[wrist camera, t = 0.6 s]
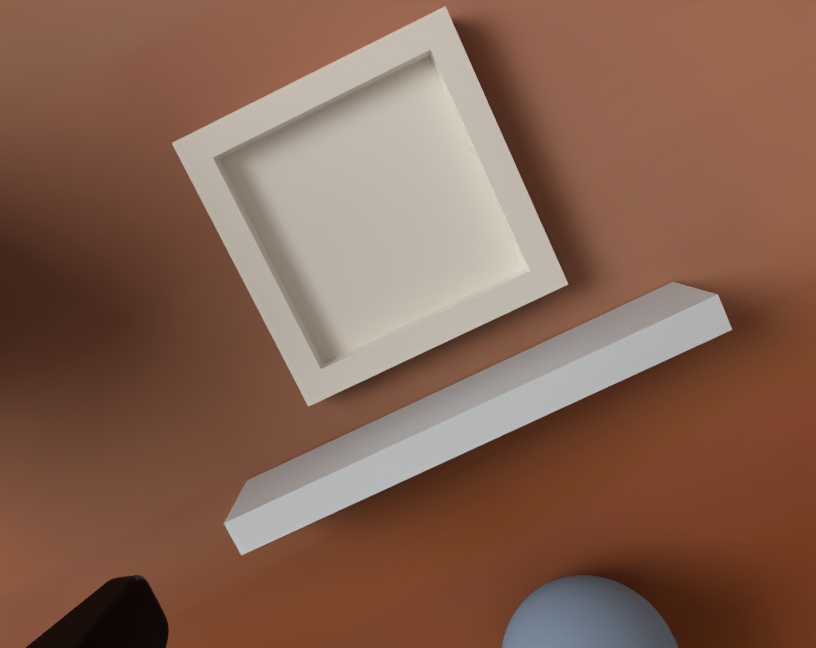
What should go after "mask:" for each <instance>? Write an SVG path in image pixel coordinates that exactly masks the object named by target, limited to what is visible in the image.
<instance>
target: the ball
mask: <svg viewBox="0 0 816 648" xmlns="http://www.w3.org/2000/svg"><path fill="white" fill-rule="evenodd" d="M502 648H678V646H677V643H676V640H675V638H674V636H673V635H672V633H671V631H670V629H669V627H668V625H667V623H666V622H665V621H664V620H663V618H662V617H661V616H660V614H659V613H658V612H657V610H656V609H655V608H654V607H653V606H652V605H651V604H650V603H649V602H648V601H647V600H645V599H644V598H643V597H642V596H641V595H639V594H638V593H637V592H635V591H634V590H632V589H630V588H628V587H627V586H625V585H623V584H621V583H619V582H616V581H614V580H611V579H607V578H604V577H599V576H591V575H573V576H566V577H562V578H558V579H556V580H553V581H550V582H548V583H546V584H545V585H543V586H541V587H539V588H538V589H536V590H535V591H534V592H532V593H531V594H530V595H529V596H528V597H527V598H526V599H525V600H524V601H523V602H522V603H521V605H520V606H519V607H518V609H517V610H516V612H515V613H514V615H513V616H512V618H511V620H510V622H509V624H508V627H507V630H506V633H505V636H504V639H503V644H502Z"/></svg>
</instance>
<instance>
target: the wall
mask: <svg viewBox="0 0 816 648" xmlns="http://www.w3.org/2000/svg"><path fill="white" fill-rule="evenodd" d="M731 330H732V328H731V325H730V323H729V320H728V318H727V315H726V313H725V311H724V308H723V306H722V303H721V301H720V298H719V296H718V294H715V293H711V292H708V291H704V290H700V289H697V288H693V287H690V286H686V285H683V284H679V283H676V282H671V283H669V284H667V285H665V286H663V287H661V288H659V289H656V290H654V291H652V292H650V293H648V294H646V295H644V296H641V297H639V298H637V299H635V300H633V301H631V302H629V303H626V304H624V305H622V306H620V307H618V308H616V309H614V310H611V311H609V312H607V313H605V314H603V315H601V316H599V317H596V318H594V319H592V320H590V321H588V322H586V323H584V324H581V325H579V326H577V327H575V328H573V329H571V330H568V331H566V332H564V333H562V334H560V335H558V336H556V337H553V338H551V339H549V340H547V341H545V342H543V343H541V344H538V345H536V346H534V347H532V348H530V349H528V350H526V351H523V352H521V353H519V354H517V355H515V356H513V357H511V358H508V359H506V360H504V361H502V362H500V363H498V364H496V365H493V366H491V367H489V368H487V369H485V370H483V371H481V372H478V373H476V374H474V375H472V376H470V377H468V378H466V379H463V380H461V381H459V382H457V383H455V384H453V385H451V386H448V387H446V388H444V389H442V390H440V391H438V392H435V393H433V394H431V395H429V396H427V397H425V398H423V399H420V400H418V401H416V402H414V403H412V404H410V405H408V406H405V407H403V408H401V409H399V410H397V411H395V412H393V413H390V414H388V415H386V416H384V417H382V418H380V419H378V420H375V421H373V422H371V423H369V424H367V425H365V426H363V427H360V428H358V429H356V430H354V431H352V432H350V433H348V434H345V435H343V436H341V437H339V438H337V439H335V440H333V441H330V442H328V443H326V444H324V445H322V446H320V447H318V448H315V449H313V450H311V451H309V452H307V453H305V454H302V455H300V456H298V457H296V458H294V459H292V460H290V461H287V462H285V463H283V464H281V465H279V466H277V467H275V468H272V469H270V470H268V471H266V472H264V473H262V474H260V475H257V476H255V477H253V478H251V479H249V480H247V482H246V483H245V485H244V487H243V489H242V491H241V493H240V494H239V496H238V498H237V500H236V502H235V504H234V505H233V507H232V509H231V511H230V513H229V515H228V516H227V518H226V520H225V522H224V525H225V527H226V528H227V530H228V532H229V534H230V536H231V537H232V539H233V541H234V543H235V545H236V546H237V548H238V550H239V552H240V554H241V555H243V554H246V553H248V552H250V551H252V550H254V549H256V548H259V547H261V546H263V545H265V544H267V543H269V542H272V541H274V540H276V539H278V538H280V537H283V536H285V535H287V534H289V533H291V532H293V531H296V530H298V529H300V528H302V527H304V526H306V525H309V524H311V523H313V522H315V521H317V520H319V519H322V518H324V517H326V516H328V515H330V514H333V513H335V512H337V511H339V510H341V509H343V508H346V507H348V506H350V505H352V504H354V503H356V502H359V501H361V500H363V499H365V498H367V497H370V496H372V495H374V494H376V493H378V492H380V491H383V490H385V489H387V488H389V487H391V486H393V485H396V484H398V483H400V482H402V481H404V480H407V479H409V478H411V477H413V476H415V475H417V474H420V473H422V472H424V471H426V470H428V469H430V468H433V467H435V466H437V465H439V464H441V463H444V462H446V461H448V460H450V459H452V458H454V457H457V456H459V455H461V454H463V453H465V452H467V451H470V450H472V449H474V448H476V447H478V446H480V445H483V444H485V443H487V442H489V441H491V440H494V439H496V438H498V437H500V436H502V435H504V434H507V433H509V432H511V431H513V430H515V429H517V428H520V427H522V426H524V425H526V424H528V423H531V422H533V421H535V420H537V419H539V418H541V417H544V416H546V415H548V414H550V413H552V412H554V411H557V410H559V409H561V408H563V407H565V406H568V405H570V404H572V403H574V402H576V401H578V400H581V399H583V398H585V397H587V396H589V395H591V394H594V393H596V392H598V391H600V390H602V389H604V388H607V387H609V386H611V385H613V384H615V383H618V382H620V381H622V380H624V379H626V378H628V377H631V376H633V375H635V374H637V373H639V372H641V371H644V370H646V369H648V368H650V367H652V366H655V365H657V364H659V363H661V362H663V361H665V360H668V359H670V358H672V357H674V356H676V355H678V354H681V353H683V352H685V351H687V350H689V349H692V348H694V347H696V346H698V345H700V344H702V343H705V342H707V341H709V340H711V339H713V338H715V337H718V336H720V335H722V334H724V333H726V332H729V331H731Z"/></svg>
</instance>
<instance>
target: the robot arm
mask: <svg viewBox="0 0 816 648" xmlns="http://www.w3.org/2000/svg"><path fill="white" fill-rule="evenodd" d="M168 631H169V630H168V622H167V619H166V616H165V614H164V612H163V610H162V608H161V606H160V604H159V602H158V600H157V598H156V596H155V594H154V592H153V590H152V588H151V586H150V585H149V583H148V581H147V580H146V579H145V578H144V577H142V576H139V575H134V576H126V577H118V578H114V579H111V580H109V581H108V582H106V583H105V584H104V585H103V586H101V587H100V588H99V589H98V590H96V591H95V592H94V593H93V594H92V595H90V596H89V597H88V598H87V599H85V600H84V601H83V602H82V603H80V604H79V605H78V606H77V607H75V608H74V609H73V610H72V611H70V612H69V613H68V614H67V615H65V616H64V617H63V618H62V619H61V620H59V621H58V622H57V623H56V624H54V625H53V626H52V627H51V628H49V629H48V630H47V631H46V632H44V633H43V634H42V635H41V636H39V637H38V638H37V639H36V640H35V641H33V642H32V643H31V644H30V645H28V646H27V647H26V648H166V645H167V640H168Z"/></svg>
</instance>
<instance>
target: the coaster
mask: <svg viewBox="0 0 816 648" xmlns="http://www.w3.org/2000/svg"><path fill="white" fill-rule="evenodd" d="M172 145H173V147H174V148H175V150H176V152H177V154H178V156H179V158H180V160H181V162H182V164H183V166H184V168H185V170H186V172H187V174H188V175H189V177H190V179H191V181H192V183H193V185H194V187H195V189H196V191H197V193H198V195H199V197H200V199H201V201H202V202H203V204H204V206H205V208H206V210H207V212H208V214H209V216H210V218H211V220H212V222H213V224H214V226H215V228H216V229H217V231H218V233H219V235H220V237H221V239H222V241H223V243H224V245H225V247H226V249H227V251H228V253H229V255H230V256H231V258H232V260H233V262H234V264H235V266H236V268H237V270H238V272H239V274H240V276H241V278H242V280H243V282H244V283H245V285H246V287H247V289H248V291H249V293H250V295H251V297H252V299H253V301H254V303H255V305H256V307H257V309H258V310H259V312H260V314H261V316H262V318H263V320H264V322H265V324H266V326H267V328H268V330H269V332H270V334H271V336H272V337H273V339H274V341H275V343H276V345H277V347H278V349H279V351H280V353H281V355H282V357H283V359H284V361H285V362H286V364H287V366H288V368H289V370H290V372H291V374H292V376H293V378H294V380H295V382H296V384H297V386H298V388H299V389H300V391H301V393H302V395H303V397H304V399H305V401H306V403H307V405H308V407H309V406H311V405H313V404H315V403H317V402H319V401H321V400H324V399H326V398H328V397H330V396H332V395H334V394H336V393H338V392H341V391H343V390H345V389H347V388H349V387H351V386H353V385H355V384H358V383H360V382H362V381H364V380H366V379H368V378H370V377H372V376H375V375H377V374H379V373H381V372H383V371H385V370H387V369H389V368H392V367H394V366H396V365H398V364H400V363H402V362H404V361H406V360H409V359H411V358H413V357H415V356H417V355H419V354H421V353H423V352H426V351H428V350H430V349H432V348H434V347H436V346H438V345H440V344H443V343H445V342H447V341H449V340H451V339H453V338H455V337H457V336H460V335H462V334H464V333H466V332H468V331H470V330H472V329H475V328H477V327H479V326H481V325H483V324H485V323H487V322H489V321H492V320H494V319H496V318H498V317H500V316H502V315H504V314H506V313H509V312H511V311H513V310H515V309H517V308H519V307H521V306H523V305H526V304H528V303H530V302H532V301H534V300H536V299H538V298H540V297H543V296H545V295H547V294H549V293H551V292H553V291H555V290H557V289H560V288H562V287H564V286H566V285H568V282H567V280H566V278H565V276H564V273H563V271H562V269H561V267H560V264H559V262H558V260H557V258H556V255H555V253H554V251H553V249H552V246H551V244H550V242H549V239H548V237H547V235H546V233H545V230H544V228H543V226H542V224H541V221H540V219H539V217H538V215H537V212H536V210H535V208H534V206H533V203H532V201H531V199H530V196H529V194H528V192H527V190H526V187H525V185H524V183H523V181H522V178H521V176H520V174H519V172H518V169H517V167H516V165H515V163H514V160H513V158H512V156H511V153H510V151H509V149H508V147H507V144H506V142H505V140H504V138H503V135H502V133H501V131H500V129H499V126H498V124H497V122H496V120H495V117H494V115H493V113H492V110H491V108H490V106H489V104H488V101H487V99H486V97H485V95H484V92H483V90H482V88H481V86H480V83H479V81H478V79H477V77H476V74H475V72H474V70H473V67H472V65H471V63H470V61H469V58H468V56H467V54H466V52H465V49H464V47H463V45H462V43H461V40H460V38H459V36H458V34H457V31H456V29H455V27H454V24H453V22H452V20H451V18H450V15H449V13H448V11H447V9H446V6H445V7H443V8H441V9H439V10H437V11H435V12H433V13H431V14H429V15H427V16H425V17H423V18H421V19H419V20H417V21H415V22H413V23H411V24H409V25H407V26H405V27H403V28H401V29H399V30H397V31H395V32H393V33H391V34H389V35H387V36H385V37H383V38H381V39H379V40H377V41H375V42H373V43H371V44H369V45H367V46H365V47H363V48H361V49H359V50H357V51H355V52H353V53H351V54H349V55H347V56H345V57H343V58H341V59H339V60H337V61H335V62H333V63H331V64H329V65H327V66H325V67H323V68H321V69H319V70H317V71H315V72H313V73H311V74H309V75H307V76H305V77H303V78H301V79H299V80H297V81H295V82H293V83H291V84H289V85H287V86H285V87H283V88H281V89H279V90H277V91H275V92H273V93H271V94H269V95H267V96H265V97H263V98H261V99H259V100H257V101H255V102H253V103H251V104H249V105H247V106H245V107H243V108H241V109H239V110H237V111H235V112H233V113H231V114H229V115H227V116H225V117H223V118H221V119H219V120H217V121H215V122H213V123H211V124H209V125H207V126H205V127H203V128H201V129H199V130H197V131H195V132H193V133H191V134H189V135H187V136H185V137H183V138H181V139H179V140H177V141H175V142H173V143H172Z"/></svg>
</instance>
